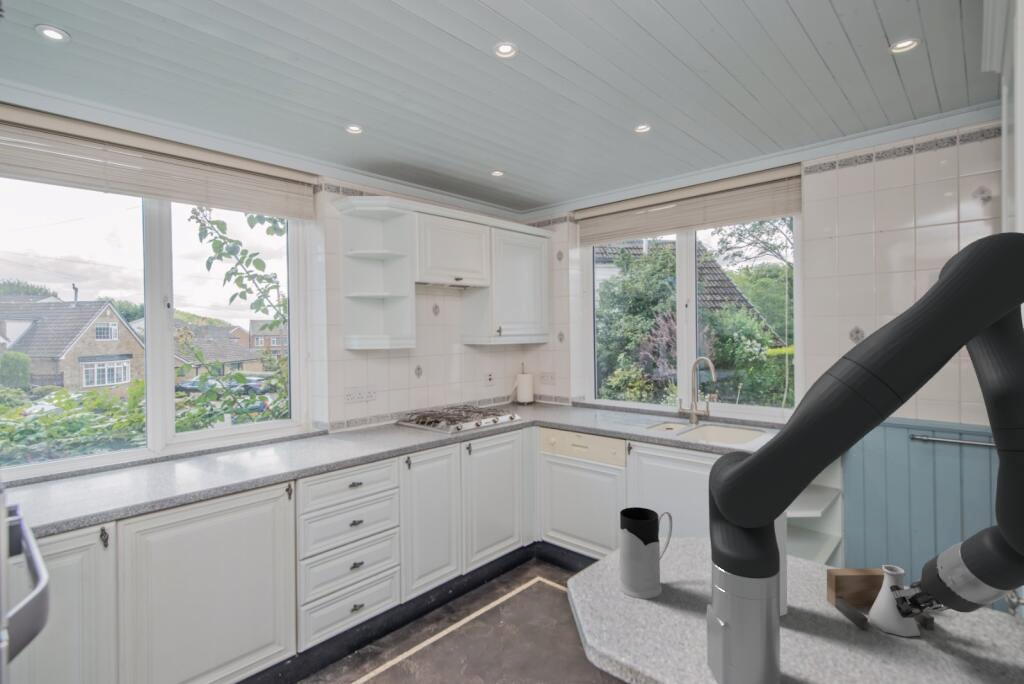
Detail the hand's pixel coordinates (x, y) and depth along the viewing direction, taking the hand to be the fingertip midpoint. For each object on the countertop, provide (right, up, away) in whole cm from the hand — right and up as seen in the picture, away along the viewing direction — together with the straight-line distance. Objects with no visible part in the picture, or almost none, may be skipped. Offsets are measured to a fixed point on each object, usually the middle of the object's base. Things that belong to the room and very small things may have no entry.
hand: (903, 611), depth 85 cm
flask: (0, -4, +3) cm, 5 cm away
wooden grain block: (0, -4, +6) cm, 7 cm away
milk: (-20, -4, +8) cm, 22 cm away
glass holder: (-38, -4, +19) cm, 42 cm away
